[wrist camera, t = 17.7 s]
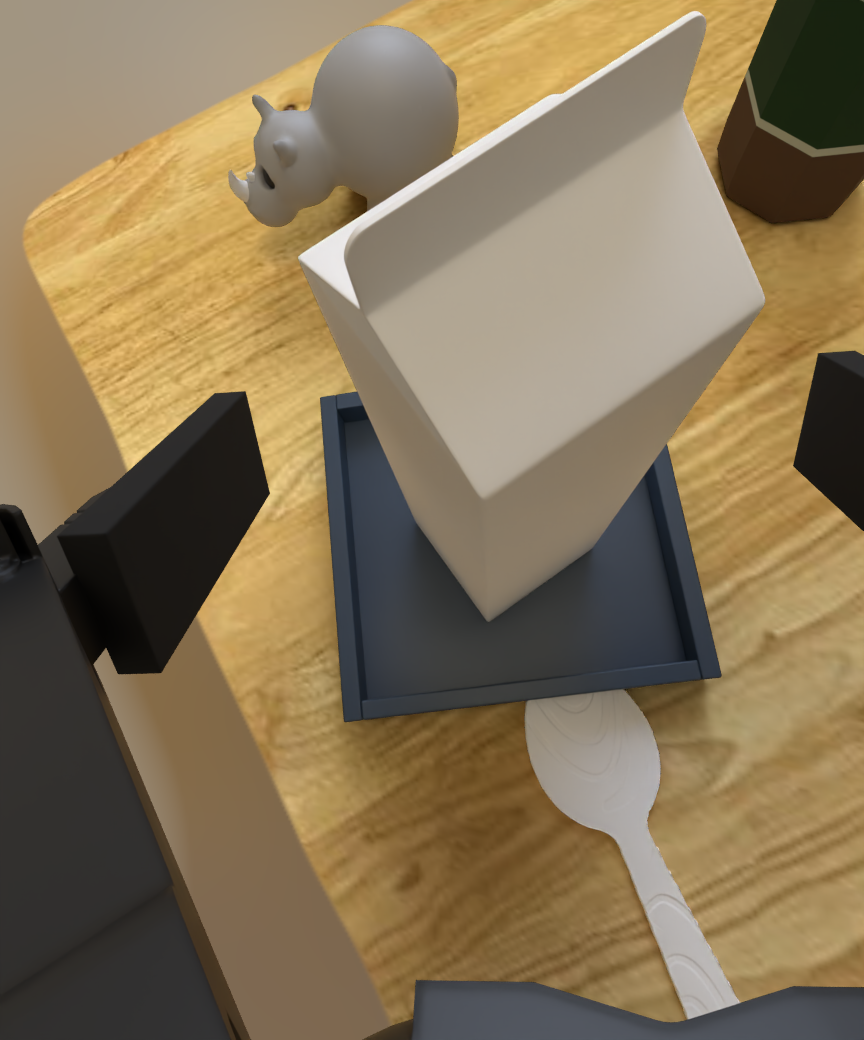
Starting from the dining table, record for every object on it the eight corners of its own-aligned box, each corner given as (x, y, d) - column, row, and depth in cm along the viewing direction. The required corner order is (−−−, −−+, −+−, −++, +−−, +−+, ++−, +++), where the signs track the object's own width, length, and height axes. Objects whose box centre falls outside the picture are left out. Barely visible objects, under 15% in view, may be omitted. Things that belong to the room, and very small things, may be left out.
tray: (634, 369, 31) (644, 347, 29) (705, 678, 27) (722, 677, 25) (330, 415, 32) (319, 396, 30) (354, 720, 28) (343, 722, 26)
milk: (414, 521, 30) (212, 96, 9) (516, 450, 30) (565, -121, 9) (489, 626, 28) (469, 420, 7) (597, 549, 28) (888, 134, 7)
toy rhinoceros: (245, 204, 36) (173, 62, 28) (434, 125, 36) (417, -38, 28) (284, 301, 34) (219, 179, 26) (484, 217, 34) (481, 70, 26)
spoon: (697, 1149, 23) (702, 1160, 22) (496, 684, 28) (496, 684, 27) (828, 1089, 23) (836, 1098, 23) (605, 637, 28) (607, 636, 28)
